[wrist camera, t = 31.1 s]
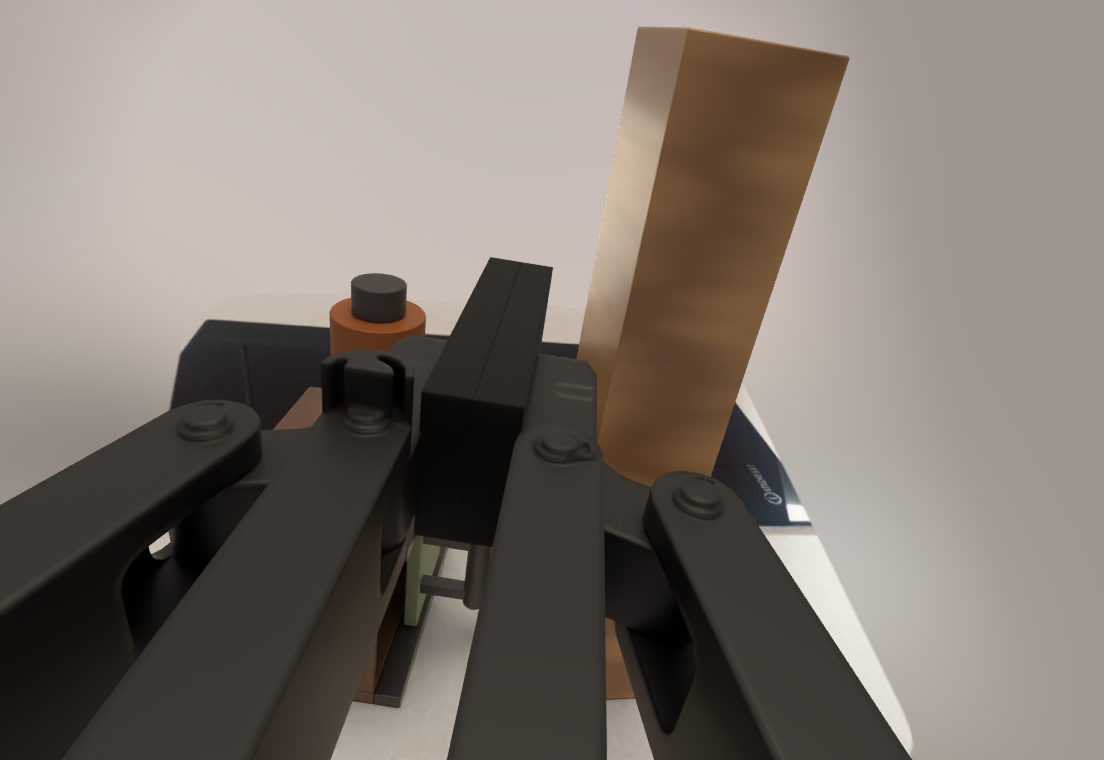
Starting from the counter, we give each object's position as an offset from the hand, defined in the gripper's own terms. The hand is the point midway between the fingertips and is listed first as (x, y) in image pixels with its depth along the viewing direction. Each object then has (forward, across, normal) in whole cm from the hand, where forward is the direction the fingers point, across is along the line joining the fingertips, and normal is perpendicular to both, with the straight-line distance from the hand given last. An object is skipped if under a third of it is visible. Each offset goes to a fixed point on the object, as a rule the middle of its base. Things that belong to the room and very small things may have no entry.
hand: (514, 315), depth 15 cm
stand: (+13, +6, -28) cm, 31 cm away
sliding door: (+16, -3, -27) cm, 31 cm away
